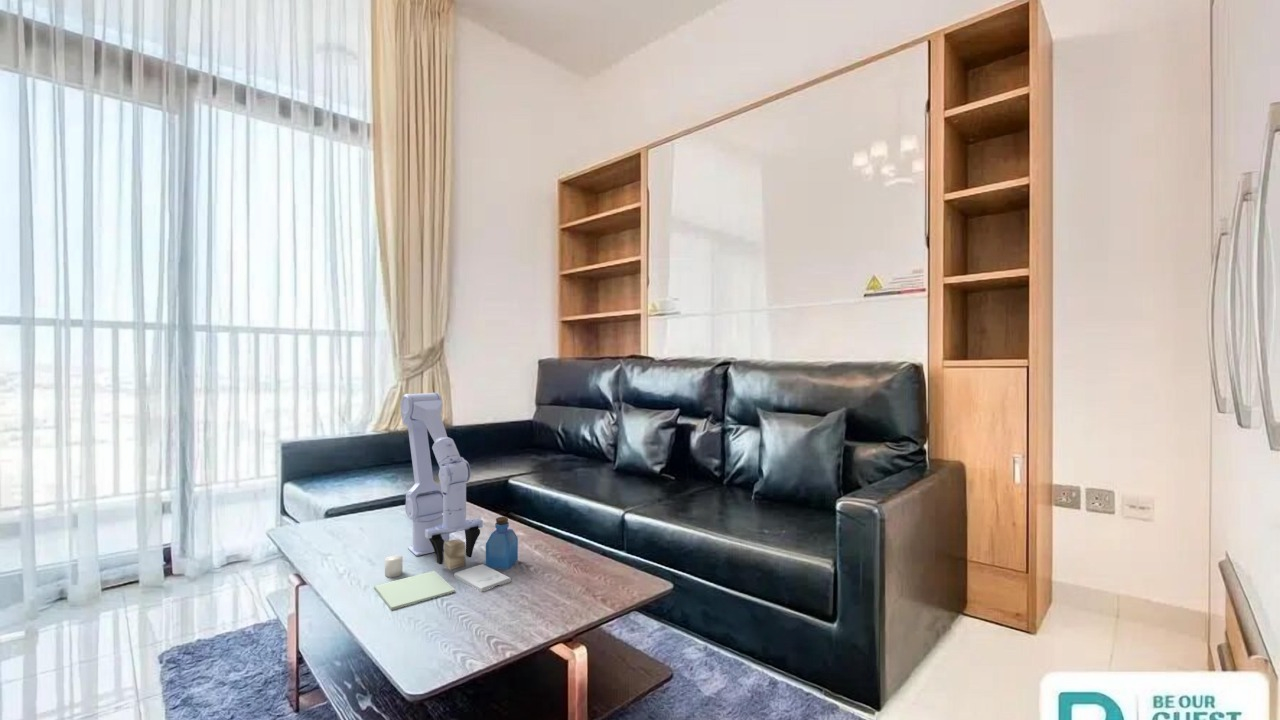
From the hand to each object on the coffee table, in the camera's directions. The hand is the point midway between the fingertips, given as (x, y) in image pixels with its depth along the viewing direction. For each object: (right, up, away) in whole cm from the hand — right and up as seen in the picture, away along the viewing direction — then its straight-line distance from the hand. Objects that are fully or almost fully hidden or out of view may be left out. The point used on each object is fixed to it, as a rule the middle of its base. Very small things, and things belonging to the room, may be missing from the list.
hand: (454, 559), depth 143 cm
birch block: (0, -2, 0) cm, 2 cm away
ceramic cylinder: (-13, -2, -6) cm, 15 cm away
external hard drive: (+10, -2, -9) cm, 13 cm away
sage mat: (-4, -2, -15) cm, 16 cm away
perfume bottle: (+12, -2, +1) cm, 12 cm away
